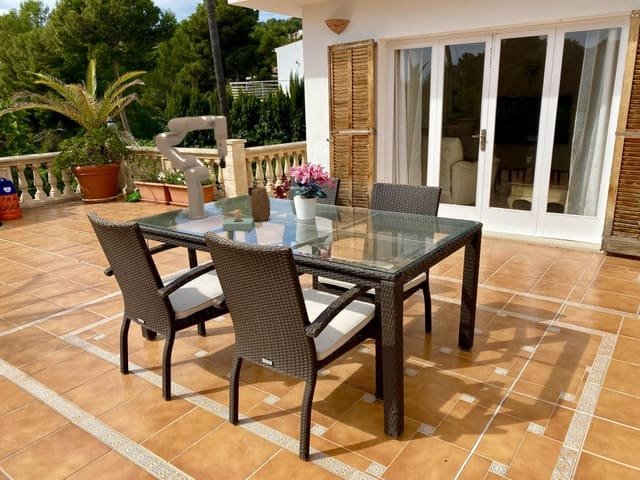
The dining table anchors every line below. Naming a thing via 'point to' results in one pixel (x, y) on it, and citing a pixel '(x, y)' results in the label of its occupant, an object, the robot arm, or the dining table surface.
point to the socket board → (238, 224)
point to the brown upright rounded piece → (260, 204)
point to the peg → (238, 216)
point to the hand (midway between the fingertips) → (223, 168)
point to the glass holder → (250, 197)
